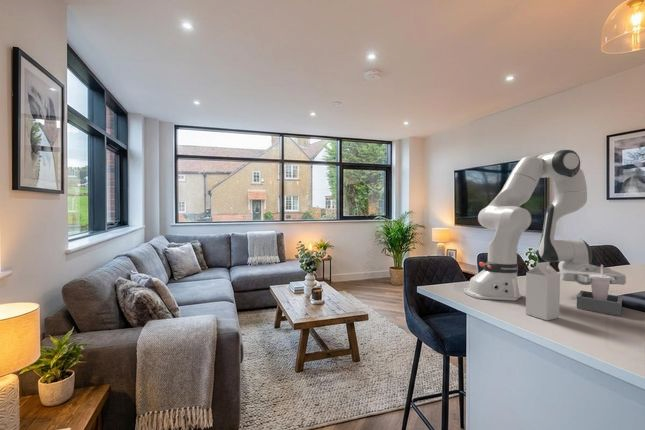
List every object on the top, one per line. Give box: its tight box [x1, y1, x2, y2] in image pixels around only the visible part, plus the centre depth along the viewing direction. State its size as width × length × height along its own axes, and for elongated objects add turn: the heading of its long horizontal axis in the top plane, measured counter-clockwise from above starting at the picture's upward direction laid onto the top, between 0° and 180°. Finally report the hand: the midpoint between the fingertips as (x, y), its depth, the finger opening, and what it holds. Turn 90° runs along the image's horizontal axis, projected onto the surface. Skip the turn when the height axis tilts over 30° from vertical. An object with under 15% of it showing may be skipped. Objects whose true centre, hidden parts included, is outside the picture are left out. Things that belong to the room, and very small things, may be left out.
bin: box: [576, 290, 623, 317], centre depth 116 cm, size 12×12×4 cm
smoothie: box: [589, 264, 612, 301], centre depth 116 cm, size 6×6×14 cm
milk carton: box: [525, 261, 561, 321], centre depth 107 cm, size 7×7×19 cm
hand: (601, 281), depth 115 cm, fingers closed on smoothie, 6 cm apart
